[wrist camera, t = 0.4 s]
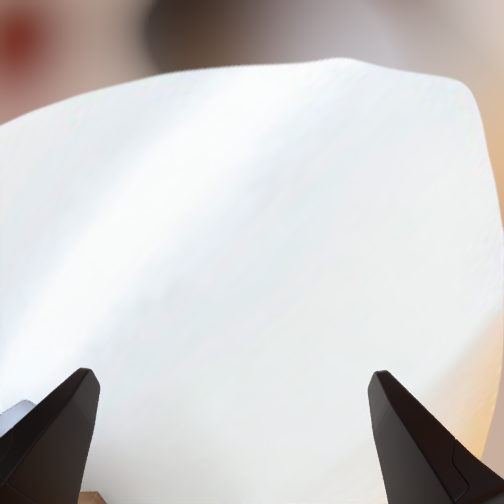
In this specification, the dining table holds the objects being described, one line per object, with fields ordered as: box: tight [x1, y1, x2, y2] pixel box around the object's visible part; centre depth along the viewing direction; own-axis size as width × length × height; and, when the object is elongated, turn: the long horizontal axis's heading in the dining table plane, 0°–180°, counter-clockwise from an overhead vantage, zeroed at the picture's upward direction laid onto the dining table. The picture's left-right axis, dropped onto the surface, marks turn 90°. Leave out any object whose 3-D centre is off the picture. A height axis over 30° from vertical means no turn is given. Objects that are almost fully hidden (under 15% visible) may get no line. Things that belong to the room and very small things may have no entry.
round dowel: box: [0, 400, 36, 437], centre depth 20 cm, size 4×4×6 cm
